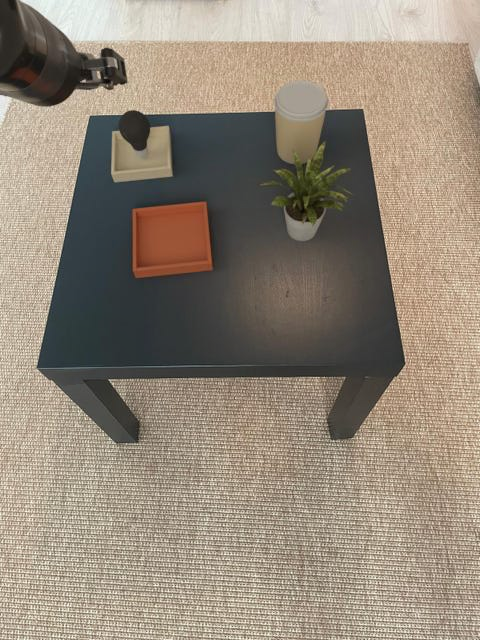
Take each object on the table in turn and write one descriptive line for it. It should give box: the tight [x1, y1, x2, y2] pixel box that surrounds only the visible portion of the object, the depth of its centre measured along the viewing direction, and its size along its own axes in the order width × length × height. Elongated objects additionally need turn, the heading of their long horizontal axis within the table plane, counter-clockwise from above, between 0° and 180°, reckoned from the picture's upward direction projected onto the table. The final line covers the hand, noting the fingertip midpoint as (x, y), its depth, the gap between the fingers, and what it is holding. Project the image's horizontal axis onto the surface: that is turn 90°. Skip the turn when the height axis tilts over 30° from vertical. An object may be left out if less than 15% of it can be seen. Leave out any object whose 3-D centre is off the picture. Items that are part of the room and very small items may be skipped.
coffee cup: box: [273, 79, 329, 165], centre depth 88 cm, size 9×9×12 cm
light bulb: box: [118, 109, 151, 158], centre depth 89 cm, size 6×6×10 cm
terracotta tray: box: [132, 200, 214, 279], centre depth 84 cm, size 13×13×2 cm
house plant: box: [258, 140, 358, 242], centre depth 77 cm, size 14×14×16 cm
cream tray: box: [110, 125, 174, 183], centre depth 93 cm, size 11×11×2 cm
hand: (74, 84), depth 58 cm, fingers open, 8 cm apart
